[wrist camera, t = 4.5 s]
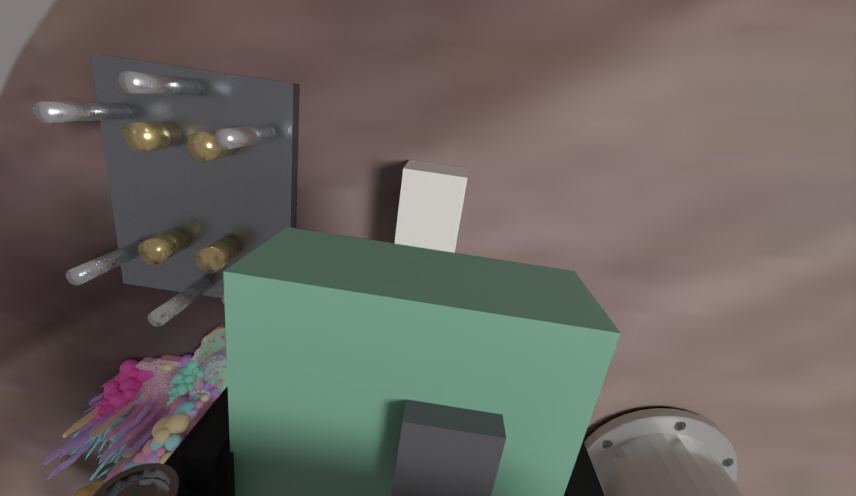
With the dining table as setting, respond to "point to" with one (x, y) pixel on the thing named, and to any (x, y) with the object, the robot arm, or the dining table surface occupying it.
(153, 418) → the pastel sphere sculpture
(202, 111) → the chassis
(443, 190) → the white rectangular block
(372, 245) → the board
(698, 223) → the dining table surface
